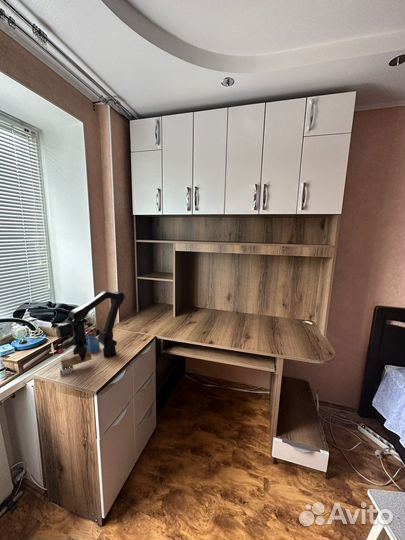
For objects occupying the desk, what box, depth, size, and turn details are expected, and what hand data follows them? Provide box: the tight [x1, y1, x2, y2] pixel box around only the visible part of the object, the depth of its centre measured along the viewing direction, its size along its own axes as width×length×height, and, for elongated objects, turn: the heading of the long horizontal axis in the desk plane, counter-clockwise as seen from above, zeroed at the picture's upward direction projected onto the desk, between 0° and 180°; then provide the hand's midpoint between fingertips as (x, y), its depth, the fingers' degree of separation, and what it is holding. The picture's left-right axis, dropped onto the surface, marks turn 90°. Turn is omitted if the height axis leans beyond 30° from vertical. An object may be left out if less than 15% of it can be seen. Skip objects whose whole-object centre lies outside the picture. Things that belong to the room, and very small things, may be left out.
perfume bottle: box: [87, 331, 101, 355], centre depth 144 cm, size 6×6×12 cm
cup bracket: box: [59, 364, 74, 376], centre depth 122 cm, size 5×8×3 cm, turn 25°
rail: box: [60, 349, 93, 369], centre depth 124 cm, size 14×4×4 cm, turn 116°
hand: (83, 358), depth 126 cm, fingers closed on rail, 4 cm apart
